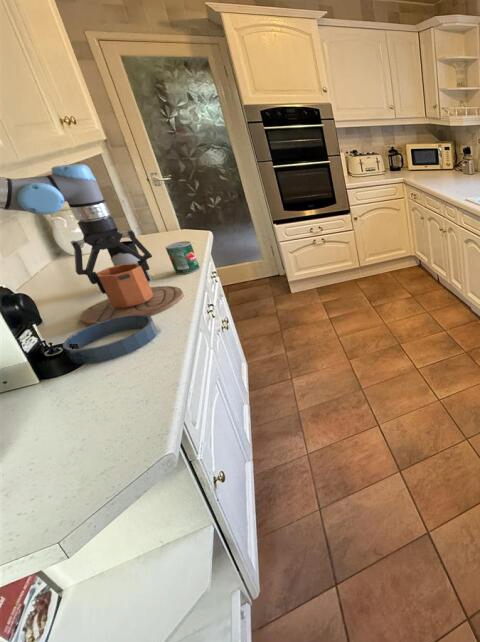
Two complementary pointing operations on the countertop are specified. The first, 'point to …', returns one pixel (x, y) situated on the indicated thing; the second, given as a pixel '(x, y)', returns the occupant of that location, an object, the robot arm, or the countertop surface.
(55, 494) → the countertop surface
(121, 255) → the glass holder
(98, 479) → the countertop surface
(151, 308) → the trivet
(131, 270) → the small pot
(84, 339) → the blue ring
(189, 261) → the canned tomato
